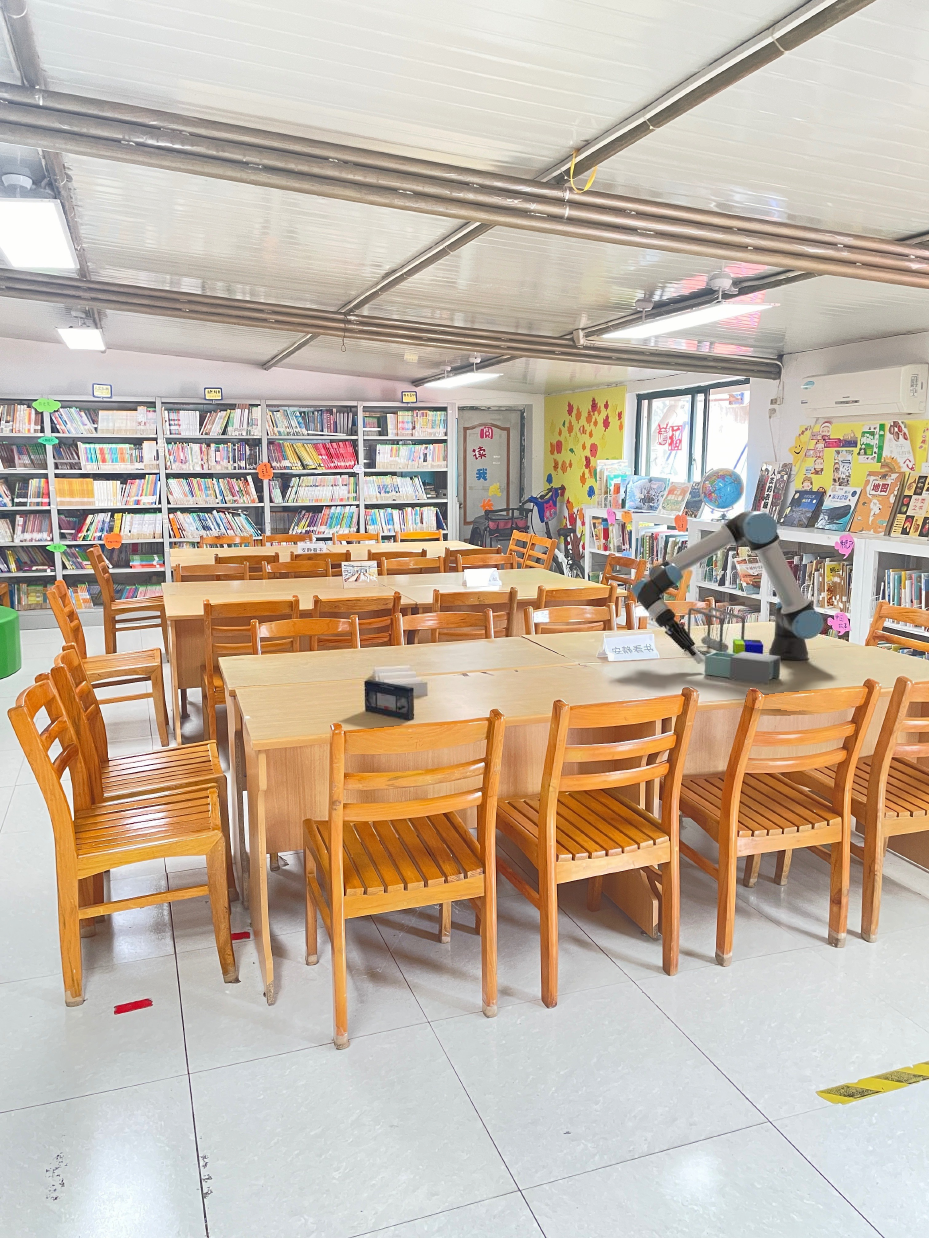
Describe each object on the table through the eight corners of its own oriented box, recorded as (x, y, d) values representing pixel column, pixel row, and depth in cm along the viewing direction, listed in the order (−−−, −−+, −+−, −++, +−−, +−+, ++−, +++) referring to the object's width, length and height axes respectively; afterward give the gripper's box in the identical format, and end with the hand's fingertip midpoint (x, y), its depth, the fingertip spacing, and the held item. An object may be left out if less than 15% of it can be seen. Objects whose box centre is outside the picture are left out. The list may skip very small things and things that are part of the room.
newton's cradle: (743, 660, 351) (745, 617, 348) (719, 661, 349) (721, 617, 346) (708, 646, 380) (710, 606, 378) (686, 647, 378) (688, 606, 376)
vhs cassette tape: (364, 711, 276) (363, 680, 274) (370, 709, 278) (370, 678, 276) (408, 721, 264) (407, 689, 263) (414, 719, 267) (414, 687, 265)
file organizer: (407, 674, 329) (407, 661, 328) (427, 697, 295) (427, 682, 295) (372, 676, 326) (372, 663, 325) (389, 699, 292) (388, 684, 291)
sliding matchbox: (704, 674, 326) (705, 655, 325) (714, 669, 334) (715, 651, 332) (763, 682, 313) (764, 663, 312) (772, 677, 320) (773, 658, 319)
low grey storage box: (729, 679, 319) (730, 657, 318) (741, 673, 329) (742, 651, 327) (768, 684, 311) (769, 661, 309) (779, 678, 320) (780, 656, 319)
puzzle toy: (761, 670, 333) (763, 644, 332) (734, 669, 335) (735, 643, 334) (758, 665, 343) (760, 640, 342) (732, 664, 345) (733, 639, 344)
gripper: (662, 617, 345) (701, 664, 338) (647, 622, 335) (687, 670, 328) (675, 605, 341) (715, 652, 334) (661, 609, 331) (701, 658, 324)
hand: (701, 661), depth 331 cm, fingers closed
